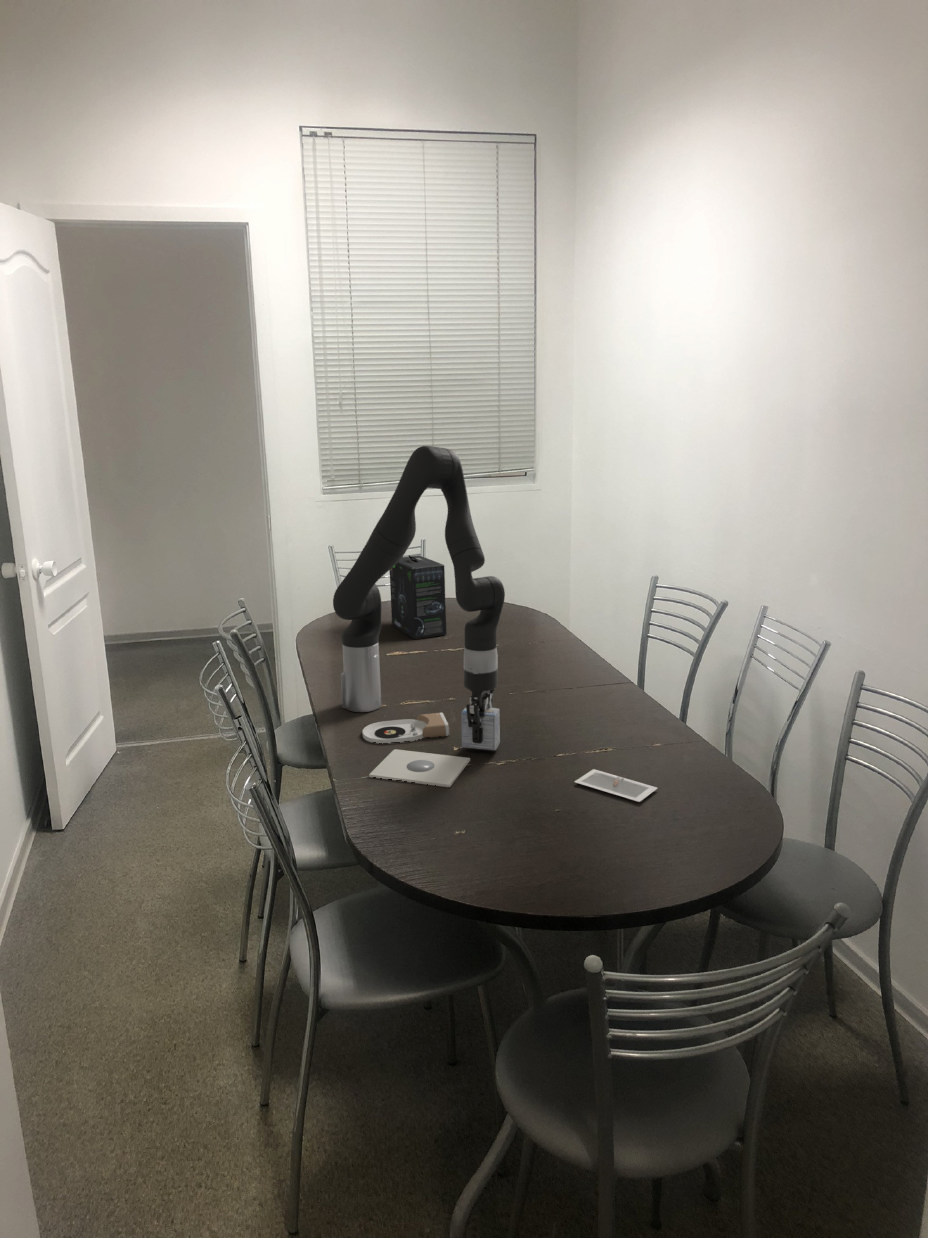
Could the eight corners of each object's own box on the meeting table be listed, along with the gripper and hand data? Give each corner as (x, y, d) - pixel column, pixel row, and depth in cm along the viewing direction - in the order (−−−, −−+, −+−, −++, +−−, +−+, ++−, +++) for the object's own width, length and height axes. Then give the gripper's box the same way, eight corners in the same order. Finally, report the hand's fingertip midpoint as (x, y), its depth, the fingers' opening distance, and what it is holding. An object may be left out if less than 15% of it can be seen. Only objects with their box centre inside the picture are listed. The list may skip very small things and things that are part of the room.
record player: (449, 726, 205) (364, 735, 201) (450, 739, 206) (365, 748, 202) (441, 709, 216) (360, 717, 212) (441, 721, 217) (360, 729, 213)
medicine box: (500, 743, 199) (500, 707, 197) (495, 751, 195) (495, 714, 192) (466, 740, 201) (466, 704, 199) (461, 747, 197) (461, 711, 194)
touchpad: (639, 806, 171) (639, 796, 171) (573, 786, 180) (574, 776, 180) (657, 792, 177) (658, 782, 177) (593, 773, 186) (593, 764, 186)
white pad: (369, 776, 185) (369, 773, 185) (394, 751, 198) (394, 748, 198) (449, 787, 180) (449, 784, 180) (470, 760, 193) (470, 757, 193)
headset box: (390, 624, 306) (387, 551, 300) (422, 620, 311) (420, 548, 305) (414, 640, 287) (411, 562, 280) (447, 635, 291) (446, 559, 285)
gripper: (474, 655, 201) (474, 725, 205) (454, 674, 187) (455, 748, 192) (505, 658, 198) (505, 728, 203) (487, 677, 185) (487, 752, 190)
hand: (480, 737), depth 197 cm, fingers closed on medicine box, 4 cm apart
